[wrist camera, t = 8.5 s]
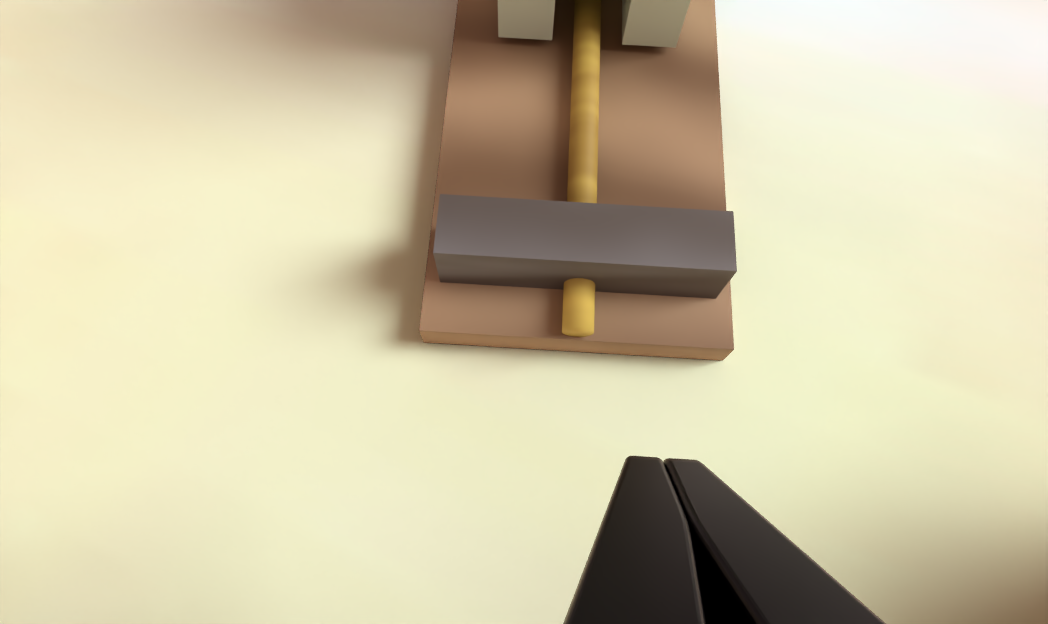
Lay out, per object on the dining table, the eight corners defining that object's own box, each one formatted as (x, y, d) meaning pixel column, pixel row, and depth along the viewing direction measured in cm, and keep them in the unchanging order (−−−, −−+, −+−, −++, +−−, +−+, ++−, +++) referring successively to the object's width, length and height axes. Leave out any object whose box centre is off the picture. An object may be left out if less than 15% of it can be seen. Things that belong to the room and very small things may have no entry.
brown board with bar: (722, 360, 23) (786, 297, 18) (423, 342, 23) (397, 274, 18) (699, -117, 31) (738, -258, 26) (477, -130, 31) (471, -273, 26)
